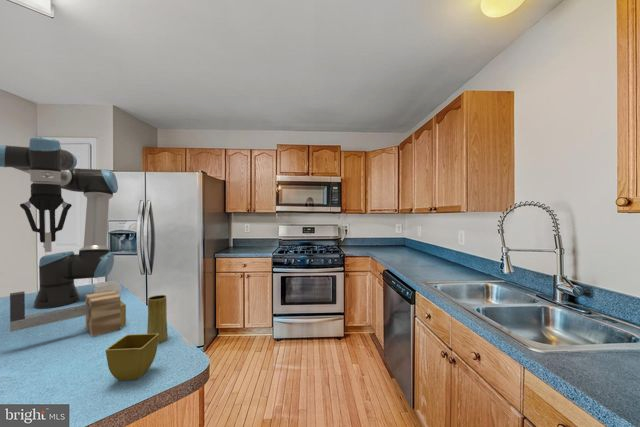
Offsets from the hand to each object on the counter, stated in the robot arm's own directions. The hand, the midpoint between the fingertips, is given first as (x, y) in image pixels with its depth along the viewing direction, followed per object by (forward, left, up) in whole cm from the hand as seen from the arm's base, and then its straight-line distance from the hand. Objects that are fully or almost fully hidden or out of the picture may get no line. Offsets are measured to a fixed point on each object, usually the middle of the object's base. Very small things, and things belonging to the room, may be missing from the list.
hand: (48, 251), depth 96 cm
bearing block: (+8, +14, -29) cm, 33 cm away
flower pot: (+50, +13, -29) cm, 60 cm away
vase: (+33, +24, -29) cm, 50 cm away
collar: (+8, +19, -29) cm, 35 cm away
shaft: (+8, +4, -22) cm, 24 cm away
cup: (-11, +19, -29) cm, 36 cm away
